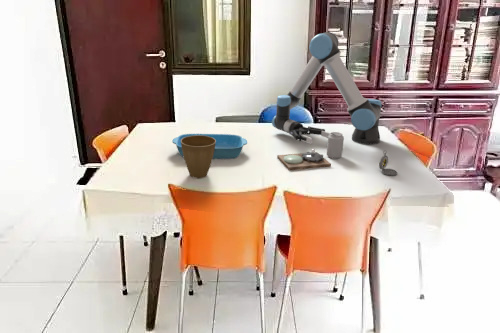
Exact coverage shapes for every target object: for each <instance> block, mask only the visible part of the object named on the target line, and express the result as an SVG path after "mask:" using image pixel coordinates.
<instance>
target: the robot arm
mask: <svg viewBox="0 0 500 333" xmlns="http://www.w3.org/2000/svg"><path fill="white" fill-rule="evenodd" d="M308 50H309V52H310V54H311V57H310V59H309V61H308V63H307V64H306V66H305V67H304V68H303V70H302V72H301V73H300V75H299V76H298V78H297V79H296V81H295V83H294V84H293V86H292V87H291V89H290V91H289V92H288V93H287V94H280V95H278V96H277V97H276V110H275V111H276V114H275V115H274V117H272V120H271V125H272V127H274V128H275V129H277V130H279V131H282V132H285V133H286V134H289V135H291V136H292V137H293V139H294V140H295V141H299V142H302V141H303V142H305V143H308V144H310V145H311V144H312V143H313V137H310V135H317V136H321V137H322V138H326V139H328V136H329V135H330V133H331V132H328V131H326V129H325V128H319V127H318V128H317V127H312V126H308V127H306V126H304V125H303V124H302V122H298V121H296V120H293V119H290V117H291V116H290V115H291V110H292V109H293V108H295V107H297V106H298V105H299V104H300V100H301V99H302V97H303V96H304V94H305V93H306V91H307V90H308V88H309V86H310V85H311V84H312V82H313V81H314V79H315V77H316V76H317V75H318V74H319V72H320V70H321V69H322V67H323V66H324V67H325V69H326V70H327V72H328V74H329V76H330V77H331V79H332V81H333V82H334V84H335V86H336V88H337V89H338V90H339V93H340V94H341V96H342V98H343V99H344V102H345V103H346V105H347V112H348V114H349V116H350V121H351V124H352V126H353V127H354V129H353V132H352V134H351V140H352V141H353V142H354V143H358V144H362V145H363V144H364V145H375V144H376V145H377V144H379V143H380V141H381V136H380V131H379V123H380V120H381V119H380V117H381V111H382V110H381V109H382V107H383V106H382V100H379V99H374V98H366V97H364V96H363V95H362V93H361V91H360V89H359V87H358V86H357V84H356V83H355V81H354V78H353V77H352V76H351V74H350V72H349V70H348V69H347V67H346V65H345V63H344V62H343V60H342V58H341V50H340V48H339V39H338V37H337V36H336V34H334V33H333V32H329V31H326V32H323V33H318V34H316V35H315V36H314V37H312V38H311V40H310V42H309V49H308Z"/></svg>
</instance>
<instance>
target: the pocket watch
mask: <svg viewBox="0 0 500 333" xmlns="http://www.w3.org/2000/svg"><path fill="white" fill-rule="evenodd" d="M378 163H379V165H378V167H379V170H381V173H382V174H384V175H387V176H396V175H397V174H398V171H397V170H396V169H392V168H386V167H387V166H388V164H389V157H388V155H387V151H383V156H382V157H381V158H380V160H379V162H378Z"/></svg>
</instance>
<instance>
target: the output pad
mask: <svg viewBox="0 0 500 333" xmlns="http://www.w3.org/2000/svg"><path fill="white" fill-rule="evenodd" d="M286 155H287V154H286ZM283 160H284V162H286V163H290V164H299V163H301V162H302V160H303V159H302V157H300V156H297V155H287V156H284V158H283Z"/></svg>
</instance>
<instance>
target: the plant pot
mask: <svg viewBox="0 0 500 333" xmlns="http://www.w3.org/2000/svg"><path fill="white" fill-rule="evenodd" d="M215 144H216V140H215V139H214V138H212V137H209V136H203V135H194V136H187V137H184V138H182V139H181V146H182V152H183V156H184V157H183V156H182V157H183V159H184V162H185V165H186V168H187V171H188V173H189V175H190V176H191V177H192V178H195V179H202V178H206V177H207V176H208V173H209V170H210V168H211V164H212V162H213V160H214V159H213V155H214V150H215Z"/></svg>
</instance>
